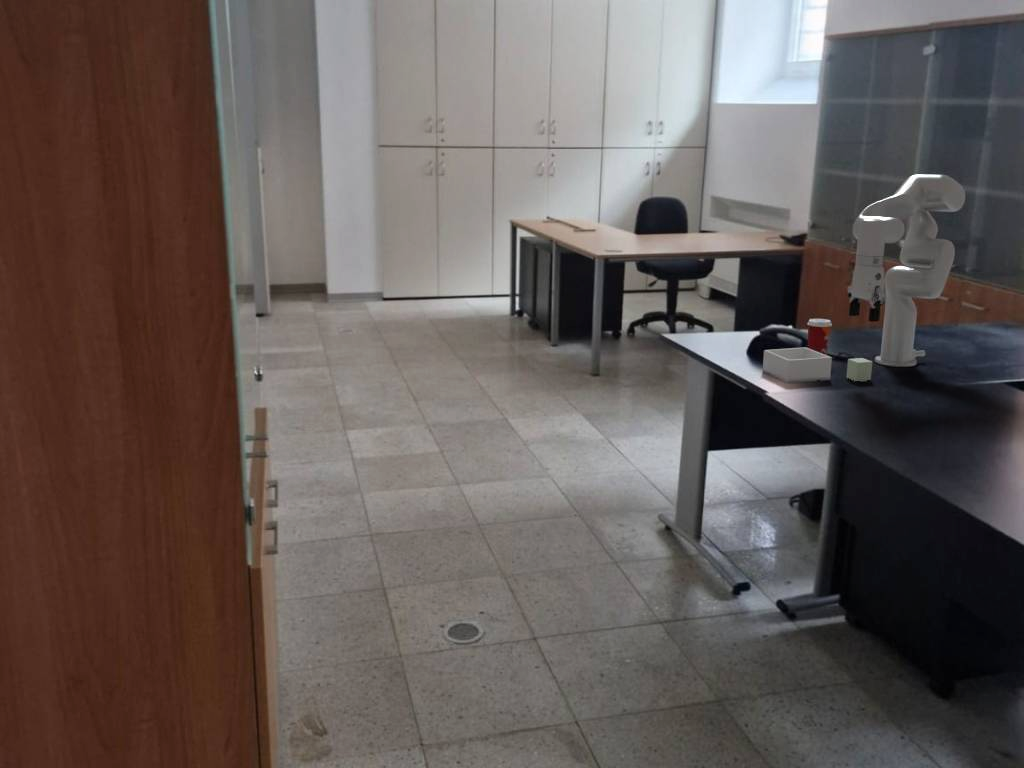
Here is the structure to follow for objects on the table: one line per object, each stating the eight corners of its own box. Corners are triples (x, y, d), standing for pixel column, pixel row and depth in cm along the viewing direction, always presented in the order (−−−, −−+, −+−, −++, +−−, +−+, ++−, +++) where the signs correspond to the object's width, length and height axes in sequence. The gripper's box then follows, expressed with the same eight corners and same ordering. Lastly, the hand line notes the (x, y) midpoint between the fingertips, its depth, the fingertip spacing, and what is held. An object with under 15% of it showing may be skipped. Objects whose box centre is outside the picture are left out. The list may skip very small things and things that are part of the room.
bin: (803, 368, 288) (805, 347, 286) (830, 379, 274) (831, 357, 272) (762, 371, 285) (764, 350, 283) (786, 383, 271) (788, 360, 269)
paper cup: (830, 365, 292) (833, 323, 288) (805, 364, 293) (808, 322, 290) (827, 359, 299) (830, 318, 295) (803, 359, 301) (806, 317, 297)
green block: (860, 376, 278) (862, 357, 276) (870, 380, 273) (872, 361, 271) (846, 377, 276) (848, 359, 275) (856, 381, 272) (857, 362, 270)
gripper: (899, 264, 258) (892, 323, 262) (862, 257, 274) (857, 313, 278) (876, 265, 256) (870, 324, 260) (840, 258, 272) (835, 314, 277)
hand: (863, 318), depth 269 cm, fingers open, 9 cm apart
